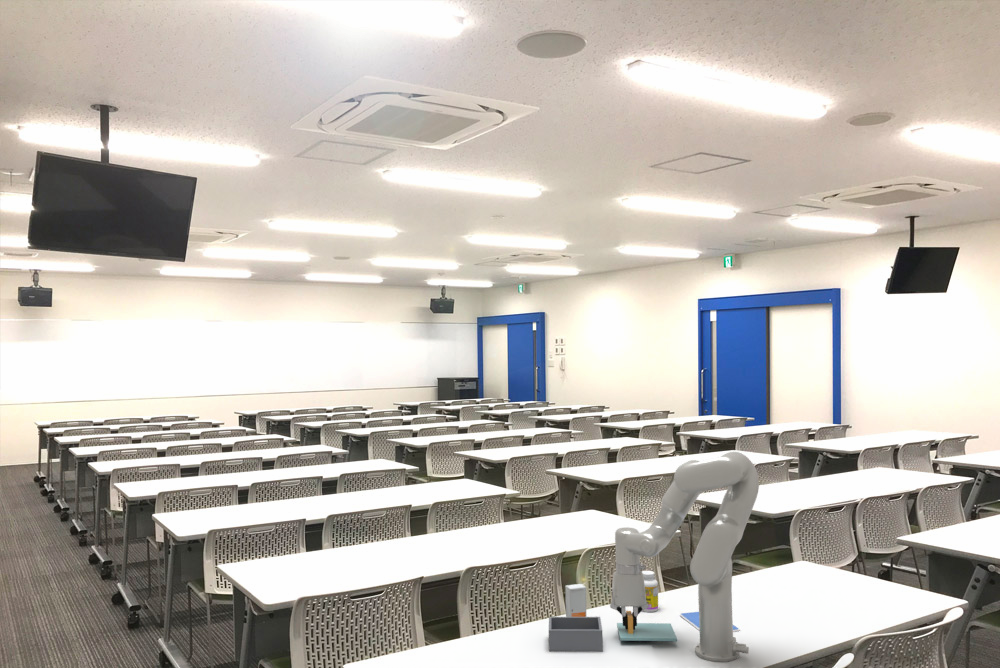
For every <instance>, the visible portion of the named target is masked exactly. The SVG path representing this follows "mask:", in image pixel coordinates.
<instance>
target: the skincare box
mask: <svg viewBox="0 0 1000 668" xmlns="http://www.w3.org/2000/svg"><path fill="white" fill-rule="evenodd" d="M564 587H565V589H564V590H565V617H587V587H586V586H585V585H584V584H582V583H578V584H576V583H575V584H567V585H565V586H564Z"/></svg>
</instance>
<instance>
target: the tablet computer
mask: <svg viewBox="0 0 1000 668" xmlns="http://www.w3.org/2000/svg"><path fill="white" fill-rule="evenodd" d="M679 617H681V618H682V619H683V620H685V621H686V622H687V623H688V624H690V625H691V626H692V627H694V628H695V629H697V630H698V631H699V632H700V629H699V611H692V612H681V613H679ZM739 631H740V632H741V629H740V628H739V627H737V626H736V625H734V624H733V633H740V632H739Z"/></svg>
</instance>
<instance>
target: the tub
mask: <svg viewBox="0 0 1000 668" xmlns="http://www.w3.org/2000/svg"><path fill="white" fill-rule="evenodd" d="M603 638H604V637H603V627H602V621H601V616H586V617H566V616H549V617H548V652H556V653H557V652H558V653H559V652H560V653H561V652H563V653H564V652H565V653H566V652H569V653H570V652H571V653H572V652H573V653H577V652H579V653H581V652H587V653H588V652H590V653H591V652H592V653H595V652H596V653H598V652H599V653H603V652H604V646H603V645H604V642H603Z"/></svg>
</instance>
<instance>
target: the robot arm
mask: <svg viewBox="0 0 1000 668" xmlns="http://www.w3.org/2000/svg"><path fill="white" fill-rule="evenodd" d="M721 488H727V490H726V492H725V494H724V496H723V498H722V501H721V504H720V506H719V509H718V511H717V513H716V515H715V516H714V517H713V518H712V519H711V520H710V521H708V522H707V524H706V525H705V528H704V530H703V531H702V533H701V536H700V538H699V541H698V543H697V546H696V548H695V551H694V553H693V555H692V558H691V560H690V565H689V570H690V575H691V577H692V578H693V581H694V582H696V583H697V584H698V587H697V589H698V590H697V591H698V593H697V595H698V596H697V597H698V612H699V629H700V631H699V643H698V644H696V646H695V647H694V653H695V655H697V657H699V658H701V659H704V660H707V661H713V662H731V661H734V660H736V659H738V658H739V656H740V653H742V654H747V655H749V651H750V650H749V649H750V648H749V646H747V644H746V643H739V642H737V638H736V637H734V632H733V625H734V623H733V596H732V595H733V594H732V593H733V592H732V583H733V582H732V581H733V562H732V561H733V559H732V556H733V554H734V551H735V549H736V547H737V545H738V544H739V543H740V541H741V540H742V538H743V535H744V531H745V530H746V526H747V524H748V521H749V519H750V516H751V513H752V511H753V508H754V505H755V503H756V500H757V497H758V494H759V488H760V479H759V474H758V471H757V469H756V466H755V465H754V464H753V462H752V461H751V459H750V458H749V457H748V456H746V455H745V454H743V453H742V452H739V451H738V452H737V451H730V452H726V453H725V454H722V455H721V456H719V457H718V456H717V457H715V458H711V459H706V460H702V461H701V460H700V461H699V460H695V459H694V460H693V459H692V460H689V461H686V462H684V463H683V464H682V463H681V465H679V466H678V467H677V468H676V470H675V472H674V474H673V481H672V482H671V484H670V486H669V487H668V489H667V490H666V492H665V494H664V495H662V499H661V507H660V510H659V512H658V514H657V516H656V517H655V518H654V520H653V522H652V523H651V525H650V526H649V527H648V528H647V529H646V530H644V531H641V532H640V531H639V530H638V529H636V528H634V527H619V528H617V529H616V530H615V532H614V534H615V535H614V536H615V537H614V542H615V543H614V545H615V546H614V547H615V571H613V575H612V584H611V587H612V588H611V589H612V590H611V595H612V596H611V598H612V599H611V601H610V604H609V607H610V609H612V610H615V611H617V612H618V613H619V614H620V615H621V616H622V623H623V626H625V629H626V630H627V629H628V617H627V614H626V611H627V610H626V607H632V611H631V613H632V616H633V630H635V626H637V623H638V619H637V617H638V615H639V614H640V613H641V612H643V611H642V610H645V609H647V608H649V606H648V603H647V601H646V594H645V584H644V577H643V573H642V570H643V571H644V570H646V565H645V564H642V563H641V556H642V557H644V558H653V557H656V556H657V555H658V554H659V553H661V552H662V550H664V549H666V547H668V545H669V544H670V542H671V540H672V538H674V536H675V534H676V533H677V531H678V530H679V528H680V527H681V525H682V524H683V521H684V520H685V518H686V516H687V514H688V513H689V511H690V510H691V508H692V507H693V505H694V504H695V502H696V501H697V499H698V497H699V496H700V494H701V493H702V492H705V491H711V490H716V489H721Z"/></svg>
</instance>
